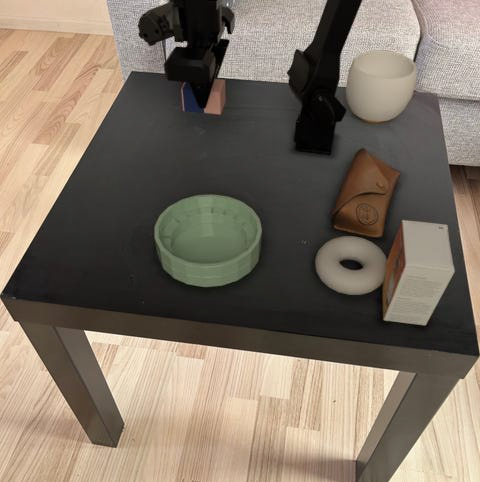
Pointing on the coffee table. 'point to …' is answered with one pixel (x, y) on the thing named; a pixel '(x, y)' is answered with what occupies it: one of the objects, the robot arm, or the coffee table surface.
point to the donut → (345, 278)
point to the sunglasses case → (365, 196)
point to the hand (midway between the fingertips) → (205, 100)
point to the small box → (416, 272)
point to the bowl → (208, 240)
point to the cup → (380, 85)
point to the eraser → (214, 102)
